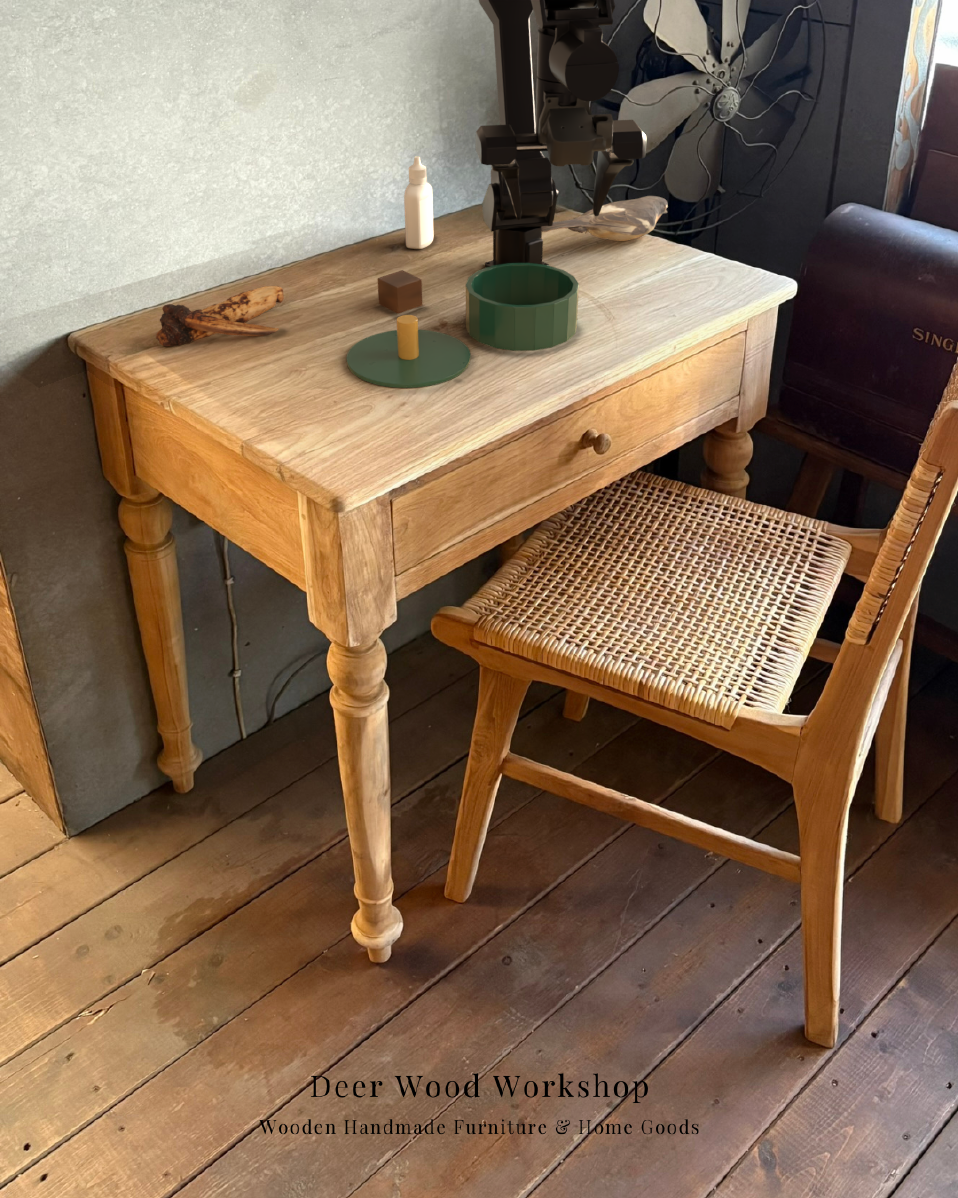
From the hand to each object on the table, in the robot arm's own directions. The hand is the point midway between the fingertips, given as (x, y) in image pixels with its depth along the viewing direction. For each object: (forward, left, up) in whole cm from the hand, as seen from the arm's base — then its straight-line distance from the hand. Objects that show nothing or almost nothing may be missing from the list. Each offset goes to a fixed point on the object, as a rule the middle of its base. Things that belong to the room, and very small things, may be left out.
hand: (557, 216), depth 140 cm
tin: (-1, -4, -13) cm, 14 cm away
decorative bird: (-14, +24, -14) cm, 31 cm away
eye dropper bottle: (-32, +5, -14) cm, 35 cm away
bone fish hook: (-24, -31, -14) cm, 42 cm away
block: (-16, -11, -13) cm, 24 cm away
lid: (-3, -20, -13) cm, 24 cm away
